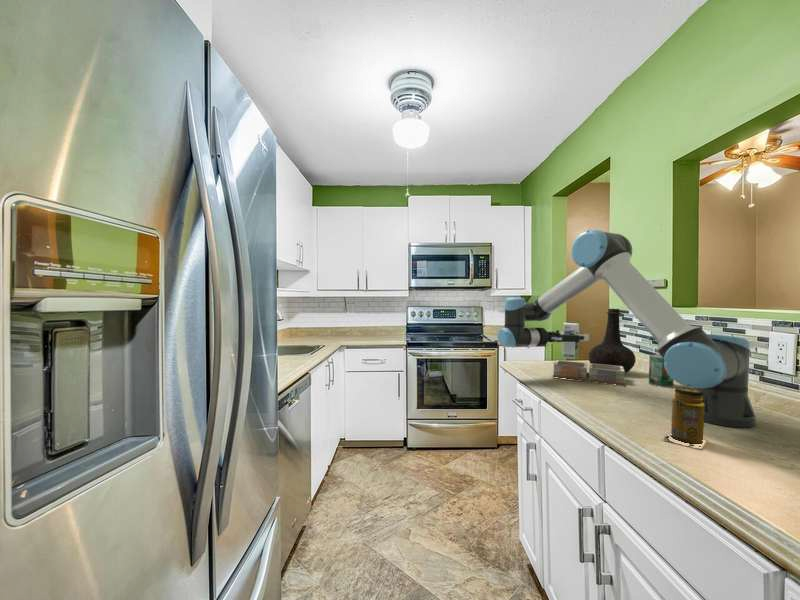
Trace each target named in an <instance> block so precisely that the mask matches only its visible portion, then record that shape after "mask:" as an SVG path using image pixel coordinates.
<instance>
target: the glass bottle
mask: <svg viewBox="0 0 800 600" xmlns="http://www.w3.org/2000/svg"><path fill="white" fill-rule="evenodd" d="M620 311H621V310H620V309H619V308H608V309H607V312H606V314H607V321H606V322H607V323H606V329H605V334H604V336H603V340H602V341H601V343H599V344H597V345H595V346H593V347H592V348H590V351H589V352H588V361H589V364H590V363H593V364H604V365H615V366H623V369H624V371H625V374H627V373H629V372H630V371H631V370H632V368H634V366H635V364H636V355H635V353H634V352H633V350H632V349H630V348H628V347H627V346H625V345H624V344H623V343H622V340H621V331H620V315H622V313H621V312H620Z"/></svg>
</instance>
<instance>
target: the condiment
mask: <svg viewBox="0 0 800 600" xmlns="http://www.w3.org/2000/svg"><path fill="white" fill-rule="evenodd" d="M702 401H703V392H702V391H700V390H697V389H693V388H690V387H686V386H682V387H681V386H680V387H676V388H675V390H674V397H673V399H672V403H671V405H672V407H671V408H672V409H671V427H670V429H671V430H670V432H668V434H672V435H670V436H671V437H672V438H673V439H675V440H678V441H681V442H684V443H689V444H702V443H703V441H702V440H706V441H707V440H708V439H705V438H704V428H705V422H704V408H705V406H704V403H703V402H702ZM668 438H669V436H667V435H665V437H664V438H662V440H663V441H666V442H668V441H670V440H669V439H668ZM707 442H708V441H707ZM669 443H671V441H670V442H669ZM699 447H701V446H699Z"/></svg>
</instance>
